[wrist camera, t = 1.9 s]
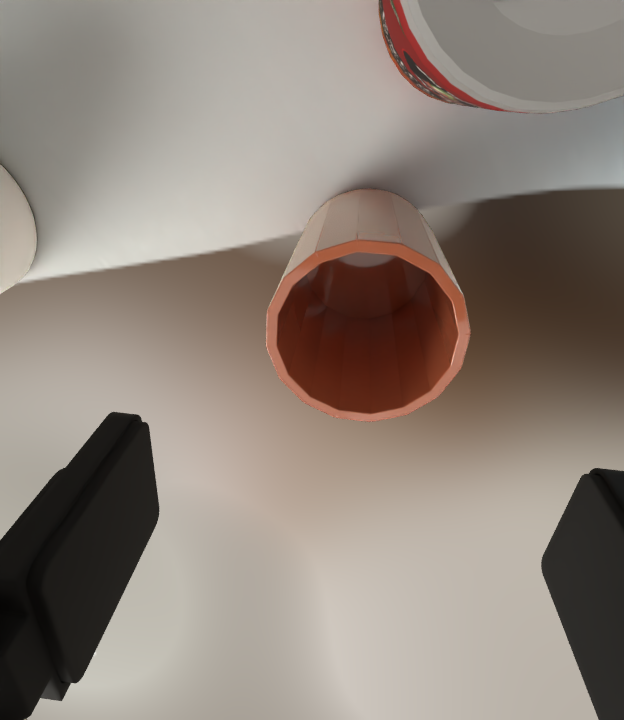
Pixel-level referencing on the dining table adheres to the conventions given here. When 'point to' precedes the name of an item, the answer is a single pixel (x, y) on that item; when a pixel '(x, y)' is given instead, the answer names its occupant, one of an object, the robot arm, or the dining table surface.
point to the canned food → (509, 51)
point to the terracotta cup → (367, 311)
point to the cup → (14, 232)
